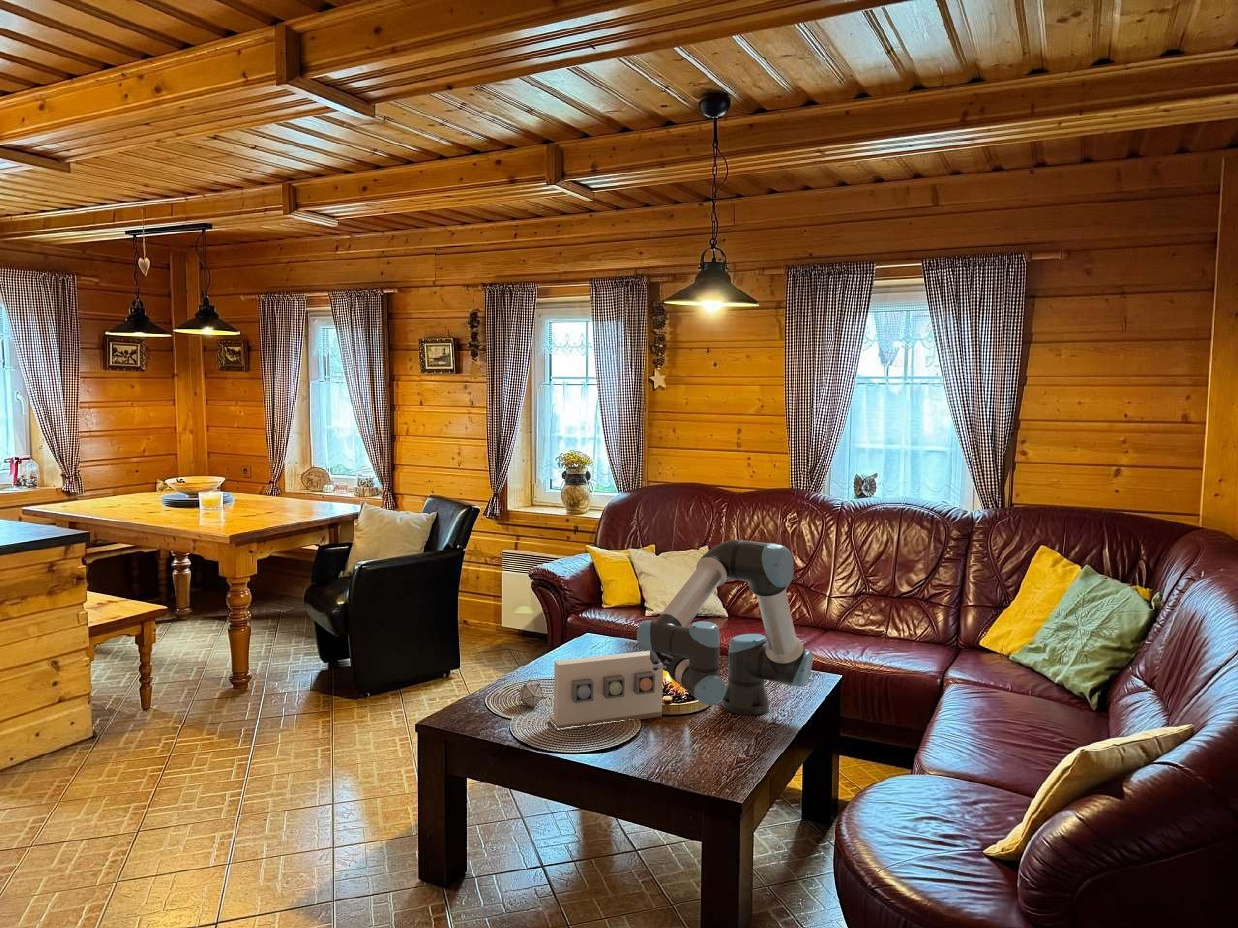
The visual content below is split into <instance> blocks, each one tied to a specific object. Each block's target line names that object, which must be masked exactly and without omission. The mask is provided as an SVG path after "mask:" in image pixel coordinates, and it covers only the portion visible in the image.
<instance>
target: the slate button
mask: <svg viewBox="0 0 1238 928" xmlns="http://www.w3.org/2000/svg"><path fill="white" fill-rule="evenodd" d="M590 693H591V690H590V688H589V687H588V686H587V685H578V686H577V695H578V697H579V698H581V699H586V698H588V697H589V696H590Z"/></svg>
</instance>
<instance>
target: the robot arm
mask: <svg viewBox="0 0 1238 928" xmlns="http://www.w3.org/2000/svg"><path fill="white" fill-rule="evenodd" d="M794 563H795V562H794V558H793V554H792V552H791V551H790V549H789V548H788V547H786V546H784V545H781V544H777V543H773V542H769V543H768V542H763V541H762V542H761V541H760V542H759V541H752V540H743V539H738V538H737V539H729V540H726V541H724V542H721V543H719V544H717V545H715V546H714V547H712V548H711V549H709V550H708V551H706V552H705V553H704V554H703V555H702V556H701V557H700V559H699V560H698V561H697V563H696V567H695V569H696V570H694V572H693V573H692V574H691V576H690V577H689V578H688V579H687V581H686V582H685V583H684V585H682V587H681V589H679V591H678V592H677V593H676V595H675V596H674V597H673V598H672V600H671V601H670V602H669V603H668V604H667V606H666V607H665V608H664V610H663V611H662V612H661V613H660V614H659V616H657V618H656V620H652V619H651V620H649V619H646V620H644V621H642V622H641V623H640V624H639V627H638V629H637V632H636V633H637V634H636V640H637V644H638V645H639V647H640V648H642V649H644V650H646V651H650V660H651V662H652V664H653V670H655V671H656V670H658V669H660V668H663V672H667V673H668V675H669V677H670V678H671V679H672V680H673V681H674V682H675V683H677V684H678V685H679V686H681V687H682V688H683V689H684V690H686V691H687V692H688V693H689V694H690V695H692V696H693V697H694V698H695V699H696V700H697V701H699V702H700V703H702V704H703V705H706V706H715V705H718V704H720V702H721V707H722V708H723V709H724V710H726V711H727V712H730V713H732V714H737V715H744V716H757V715H758V716H759V715H762V714H764V713H767V712H768V711H769V709H770V699H769V696H768V693H767V688H766V685H765V683H766V682H765V681H768V682H773V683H777V684H778V683H779V684H780V685H781V684H782V685H787V686H790V687H797V688H801V687H803V686H805V685H806V684H807V682H808V681H809V678H810V675H811V672H812V667H813V662H814V654H813V652H812V650H809V649H808V648H806V649H804V645H803V642H802V641H801V639H800V638H799V637H798V636H797V635H796V630H795V627H794V622H793V617H792V616H793V615H792V612H791V608H790V607H791V606H790V603H789V599H788V594H787V589H788V587H789V585H791V583H792V581H793V577H794V573H795V572H794V571H795V569H794V566H795V565H794ZM727 580H736V581H742V582H747V583H748V587H749V588H748V589H749V591H751V592H752V594H754V595H755V596H756V597H757V602H758V606H759V610H760V614H761V620H762V623H763V626H764V627H763V628H764V631H765V635H766V636H765V635H763V634H761V633H759V634H758V633H745V634H739V635H736V636H733V637H732V638H731V639H730V640H729V647H728V666H727V667H728V668H727V669H728V673H727V677H728V678H727V683H726V684H725V682H724V680H723V679H722V678H721V677H720V646H721V641H720V627H719V626H718V625H717V624H716V623H714V622H711V621H694V622H692V621H693V619H694V618H695V617H696V616H697V614H698V613H699V611H700V610H701V609H702V607H703V606H704V605H705V604H706V602H707V601H708V600H709V598H710V597H711V596H712V594H713V593H714V591H716V589H717V587H721V586H722V585H724V584H725V583H726V582H727ZM691 622H692V623H691ZM688 626H689V627H688ZM662 663H663V664H662Z"/></svg>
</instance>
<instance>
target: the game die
mask: <svg viewBox="0 0 1238 928" xmlns="http://www.w3.org/2000/svg"><path fill="white" fill-rule="evenodd" d="M542 689H543V686H542V687H541V682H539V683H535V682H533V681H531V679H530V678H529V679H528V682H527V683H526V684H525V683H524V684H523V686H522V687H521V688H520V689H519V688H518V689H516V691H517V692H519V693H518V694H519V696H520V699H519V702H521V705H522V704H524V705H527V706H528V707H531V709H532V708H534V706H536V705H537V703H538V704H539V703H540V701H542V700H546V697H545V696H544V695H543V692H542Z"/></svg>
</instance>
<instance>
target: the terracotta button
mask: <svg viewBox="0 0 1238 928" xmlns="http://www.w3.org/2000/svg"><path fill="white" fill-rule="evenodd" d="M651 687H652V681H651V680H650V679H649V678H648V677H644V678H640V679H639V688H640V689H642V690H643V691H648V690H650V689H651Z"/></svg>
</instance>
